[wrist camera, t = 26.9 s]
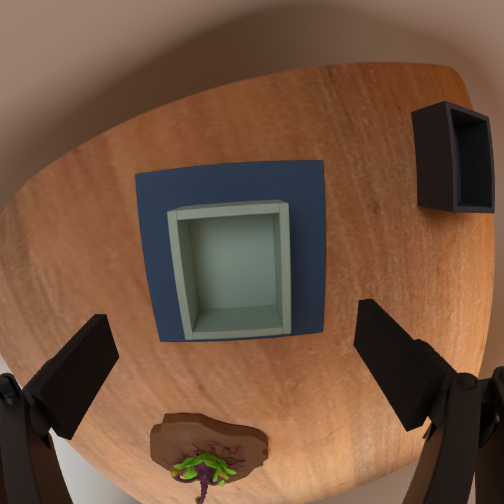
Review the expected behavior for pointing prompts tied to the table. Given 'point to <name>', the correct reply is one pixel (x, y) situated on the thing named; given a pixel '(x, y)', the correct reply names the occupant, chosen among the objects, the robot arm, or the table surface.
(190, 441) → the plant
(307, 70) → the table surface
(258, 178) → the mat
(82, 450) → the table surface
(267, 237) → the green open bin
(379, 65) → the table surface
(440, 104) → the bin lower
